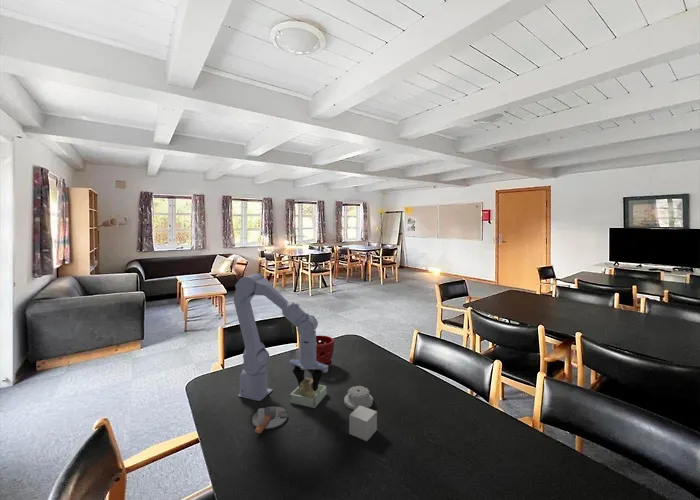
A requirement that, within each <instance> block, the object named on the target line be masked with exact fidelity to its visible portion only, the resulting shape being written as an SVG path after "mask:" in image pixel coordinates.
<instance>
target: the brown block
mask: <svg viewBox="0 0 700 500" xmlns="http://www.w3.org/2000/svg"><path fill="white" fill-rule="evenodd" d="M300 396H305V397H310V398H314V397H315V396H316V391H314V390H313V378H310V377H304V380H303V381H301V382H300Z"/></svg>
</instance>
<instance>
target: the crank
mask: <svg viewBox="0 0 700 500" xmlns="http://www.w3.org/2000/svg"><path fill="white" fill-rule="evenodd" d="M267 407H268V408H266V407H265V408H266V409H265V410H264V409H263V407H260V408H258V410H257V411H258V426H257V427H255V429H254V432H255V434H261V433H263V431H264V430H263V429H264V428H265V426H266V425H267V423H268V422H269V420H270V419H272V418H274V417H275V416H276V409H275V408H274V407H273V406H267Z"/></svg>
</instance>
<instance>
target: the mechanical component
mask: <svg viewBox="0 0 700 500" xmlns="http://www.w3.org/2000/svg"><path fill="white" fill-rule="evenodd" d="M343 402H344V405H345V406H346V407H347V408H349V409H351V410H353V411H354V410H355V409H356V408H358V407H359V406H363V407H366V408H369V409H370V407H372V406H373V403H374V398H373V396H372V395H371V394H370V390H369V389H368V387H364V386H362V385H356V386H352V387H350V388H348V389H347V394H346V395H345V396H344V399H343Z"/></svg>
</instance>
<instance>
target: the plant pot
mask: <svg viewBox="0 0 700 500" xmlns="http://www.w3.org/2000/svg"><path fill="white" fill-rule="evenodd" d="M334 348H335V339H334V338H333V337H331V336H329V335H316V361H317V362H320V363H322V364H325V365H328V369H329V368H330V367H331V366H332V364H333V362H332V361H333V360H332V358H333V356H334V351H335V350H334ZM310 370H312V369H310ZM312 371H313V372H314V371H315V370H312Z"/></svg>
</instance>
